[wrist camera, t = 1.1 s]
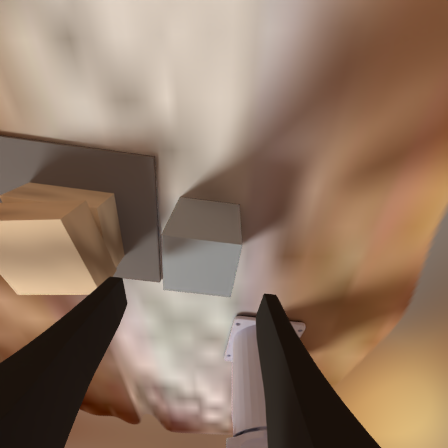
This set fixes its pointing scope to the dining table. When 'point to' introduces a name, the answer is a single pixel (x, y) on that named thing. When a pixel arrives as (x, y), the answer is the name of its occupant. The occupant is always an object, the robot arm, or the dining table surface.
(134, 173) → the felt mat
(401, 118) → the dining table surface
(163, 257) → the gray block
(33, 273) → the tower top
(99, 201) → the tower base
